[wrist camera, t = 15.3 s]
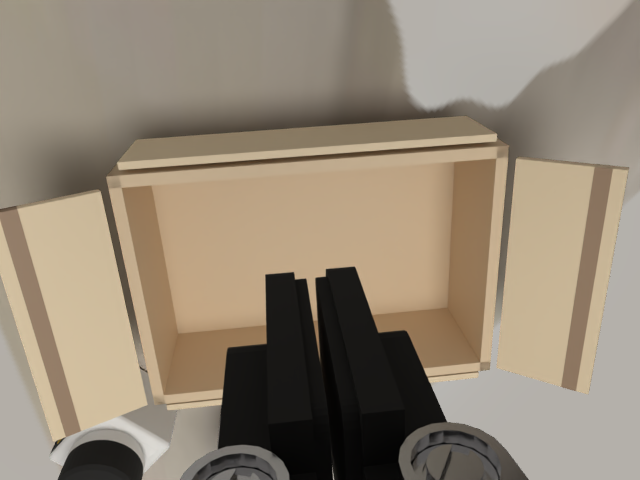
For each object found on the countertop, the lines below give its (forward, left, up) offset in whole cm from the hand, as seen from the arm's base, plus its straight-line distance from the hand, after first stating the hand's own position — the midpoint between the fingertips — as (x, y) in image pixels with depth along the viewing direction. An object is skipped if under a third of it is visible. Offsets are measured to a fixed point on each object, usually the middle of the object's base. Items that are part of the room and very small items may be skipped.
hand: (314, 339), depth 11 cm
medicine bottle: (+16, +28, -35) cm, 48 cm away
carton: (-2, +13, -35) cm, 37 cm away
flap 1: (+11, +13, -26) cm, 31 cm away
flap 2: (-15, +13, -26) cm, 33 cm away
